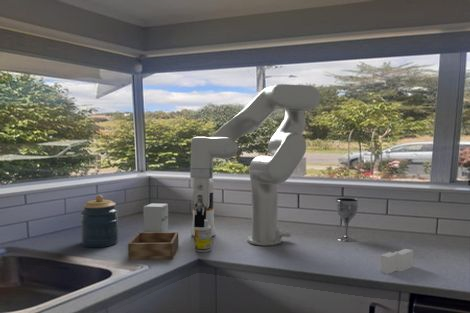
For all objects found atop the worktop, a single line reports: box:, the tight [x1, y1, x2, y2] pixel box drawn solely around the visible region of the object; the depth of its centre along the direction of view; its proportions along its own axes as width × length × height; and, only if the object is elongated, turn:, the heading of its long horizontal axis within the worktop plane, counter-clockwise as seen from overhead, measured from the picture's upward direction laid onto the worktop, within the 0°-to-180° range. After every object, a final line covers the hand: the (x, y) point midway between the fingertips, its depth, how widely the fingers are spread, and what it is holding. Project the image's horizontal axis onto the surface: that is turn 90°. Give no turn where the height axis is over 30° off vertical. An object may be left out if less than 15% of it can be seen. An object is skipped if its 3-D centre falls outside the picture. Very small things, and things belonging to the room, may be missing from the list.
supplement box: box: [142, 202, 169, 232], centre depth 146 cm, size 7×7×13 cm
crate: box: [127, 231, 179, 260], centre depth 127 cm, size 14×14×5 cm
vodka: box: [191, 178, 216, 238], centre depth 148 cm, size 9×9×30 cm
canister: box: [80, 194, 120, 248], centre depth 138 cm, size 13×13×18 cm
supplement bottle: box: [194, 219, 212, 253], centre depth 129 cm, size 6×6×10 cm
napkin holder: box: [379, 248, 414, 275], centre depth 111 cm, size 15×11×6 cm
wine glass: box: [335, 197, 359, 243], centre depth 142 cm, size 8×8×15 cm
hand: (200, 223), depth 129 cm, fingers open, 9 cm apart
